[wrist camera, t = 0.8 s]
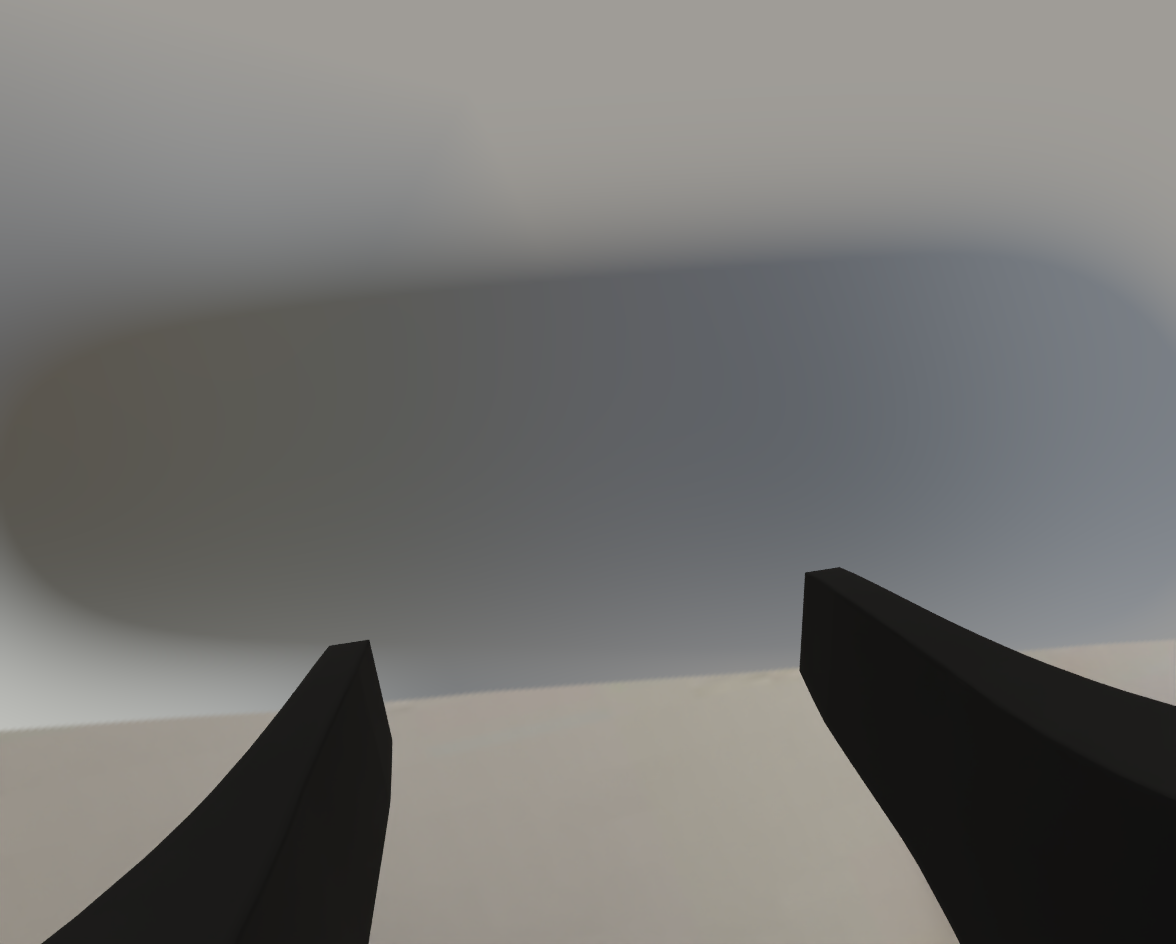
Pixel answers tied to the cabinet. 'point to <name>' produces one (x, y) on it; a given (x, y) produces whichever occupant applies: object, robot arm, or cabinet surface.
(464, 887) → the cabinet surface
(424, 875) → the cabinet surface
